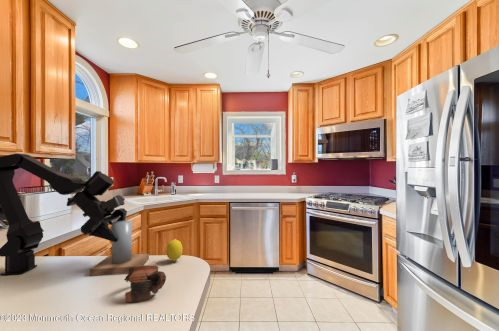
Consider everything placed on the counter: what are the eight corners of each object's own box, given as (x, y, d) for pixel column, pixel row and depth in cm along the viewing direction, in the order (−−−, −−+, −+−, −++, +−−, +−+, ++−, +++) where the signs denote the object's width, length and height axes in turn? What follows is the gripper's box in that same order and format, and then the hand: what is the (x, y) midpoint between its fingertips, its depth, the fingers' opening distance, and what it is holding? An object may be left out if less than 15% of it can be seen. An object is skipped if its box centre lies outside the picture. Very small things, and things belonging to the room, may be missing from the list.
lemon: (177, 264, 80) (177, 241, 80) (163, 263, 81) (163, 240, 82) (185, 259, 86) (185, 237, 86) (171, 258, 87) (171, 236, 87)
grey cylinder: (112, 265, 75) (112, 224, 76) (111, 259, 80) (111, 221, 81) (132, 261, 79) (132, 222, 79) (130, 256, 84) (130, 219, 84)
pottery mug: (112, 305, 57) (117, 269, 61) (139, 304, 64) (142, 272, 69) (154, 297, 54) (157, 259, 59) (177, 297, 62) (178, 264, 66)
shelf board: (90, 275, 73) (90, 269, 73) (108, 261, 85) (108, 255, 85) (137, 272, 74) (137, 266, 74) (148, 259, 86) (148, 253, 86)
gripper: (91, 190, 71) (128, 225, 71) (121, 187, 89) (151, 215, 90) (64, 217, 70) (101, 253, 70) (100, 208, 89) (130, 236, 89)
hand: (124, 237), depth 80 cm, fingers open, 9 cm apart
